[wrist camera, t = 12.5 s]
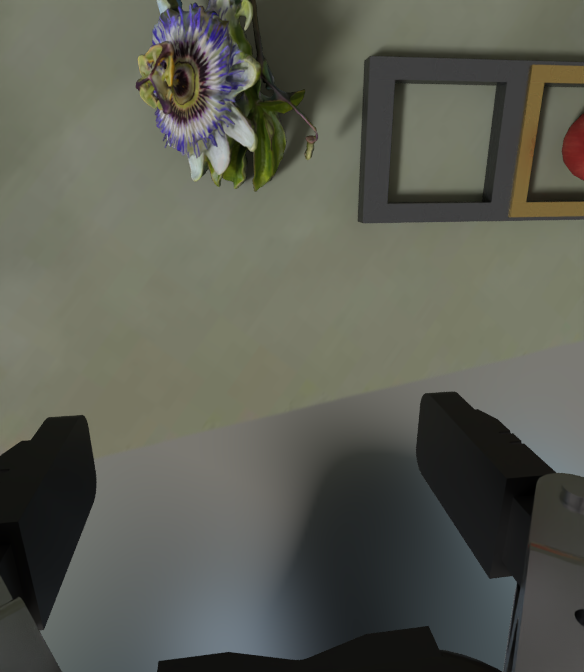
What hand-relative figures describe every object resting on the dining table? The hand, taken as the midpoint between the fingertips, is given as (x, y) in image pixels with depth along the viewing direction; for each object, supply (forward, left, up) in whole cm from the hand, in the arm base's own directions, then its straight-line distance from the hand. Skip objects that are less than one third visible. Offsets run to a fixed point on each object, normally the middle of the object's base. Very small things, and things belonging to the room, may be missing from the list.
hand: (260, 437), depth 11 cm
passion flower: (-11, 0, -30) cm, 32 cm away
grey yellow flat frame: (-8, +23, -30) cm, 39 cm away
